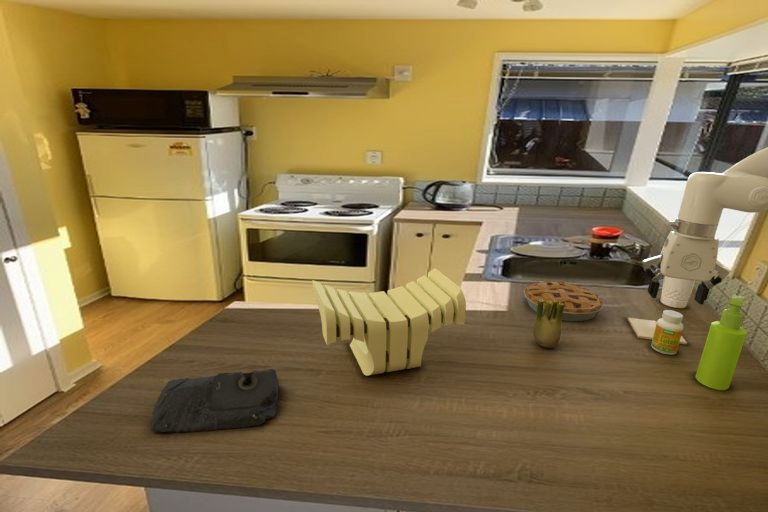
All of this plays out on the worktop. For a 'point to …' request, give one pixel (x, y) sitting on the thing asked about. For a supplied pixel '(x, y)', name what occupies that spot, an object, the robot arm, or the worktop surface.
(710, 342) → the soap dispenser
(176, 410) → the dark slate chunk
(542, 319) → the fennel bulb
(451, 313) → the slatted curved stool
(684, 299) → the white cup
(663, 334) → the supplement bottle
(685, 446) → the worktop surface
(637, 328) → the coaster
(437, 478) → the worktop surface
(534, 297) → the pie
